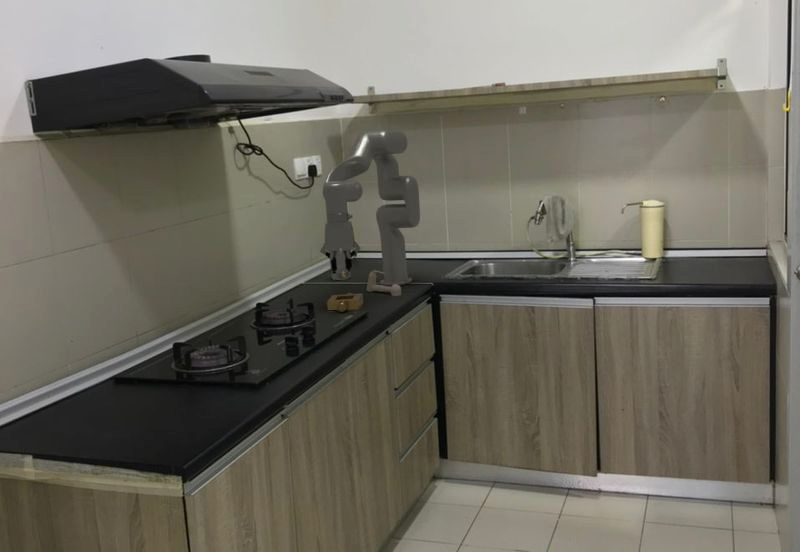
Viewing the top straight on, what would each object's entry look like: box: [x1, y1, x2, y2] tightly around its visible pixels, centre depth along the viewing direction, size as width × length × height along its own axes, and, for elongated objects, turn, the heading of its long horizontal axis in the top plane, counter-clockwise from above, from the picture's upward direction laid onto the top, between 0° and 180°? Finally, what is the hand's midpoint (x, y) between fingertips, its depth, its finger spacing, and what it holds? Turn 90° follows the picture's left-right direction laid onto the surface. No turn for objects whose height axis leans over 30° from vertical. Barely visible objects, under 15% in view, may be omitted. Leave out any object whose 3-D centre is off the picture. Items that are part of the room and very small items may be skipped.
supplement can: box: [328, 251, 352, 281], centre depth 359 cm, size 8×8×15 cm
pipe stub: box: [334, 249, 349, 277], centre depth 300 cm, size 4×4×10 cm
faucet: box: [366, 270, 402, 297], centre depth 322 cm, size 4×18×10 cm, turn 42°
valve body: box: [326, 292, 364, 312], centre depth 302 cm, size 19×11×4 cm, turn 175°
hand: (342, 269), depth 300 cm, fingers closed on pipe stub, 4 cm apart
